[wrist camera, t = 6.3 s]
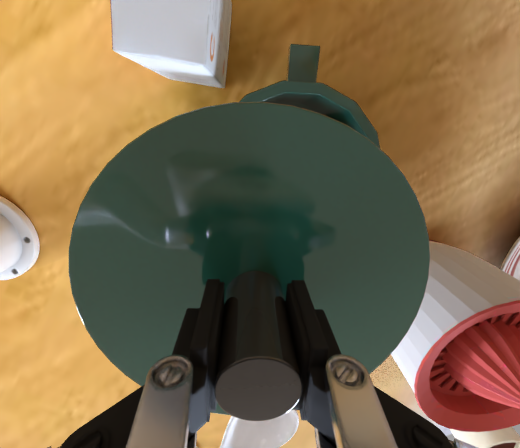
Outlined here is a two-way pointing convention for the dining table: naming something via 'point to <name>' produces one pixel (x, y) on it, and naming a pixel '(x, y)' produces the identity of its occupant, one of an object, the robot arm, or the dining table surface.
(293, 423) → the spoon rest
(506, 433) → the character mug
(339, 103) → the pot
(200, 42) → the small box
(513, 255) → the dinner plate
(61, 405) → the dining table surface
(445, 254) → the citrus juicer
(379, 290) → the lid
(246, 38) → the dining table surface
